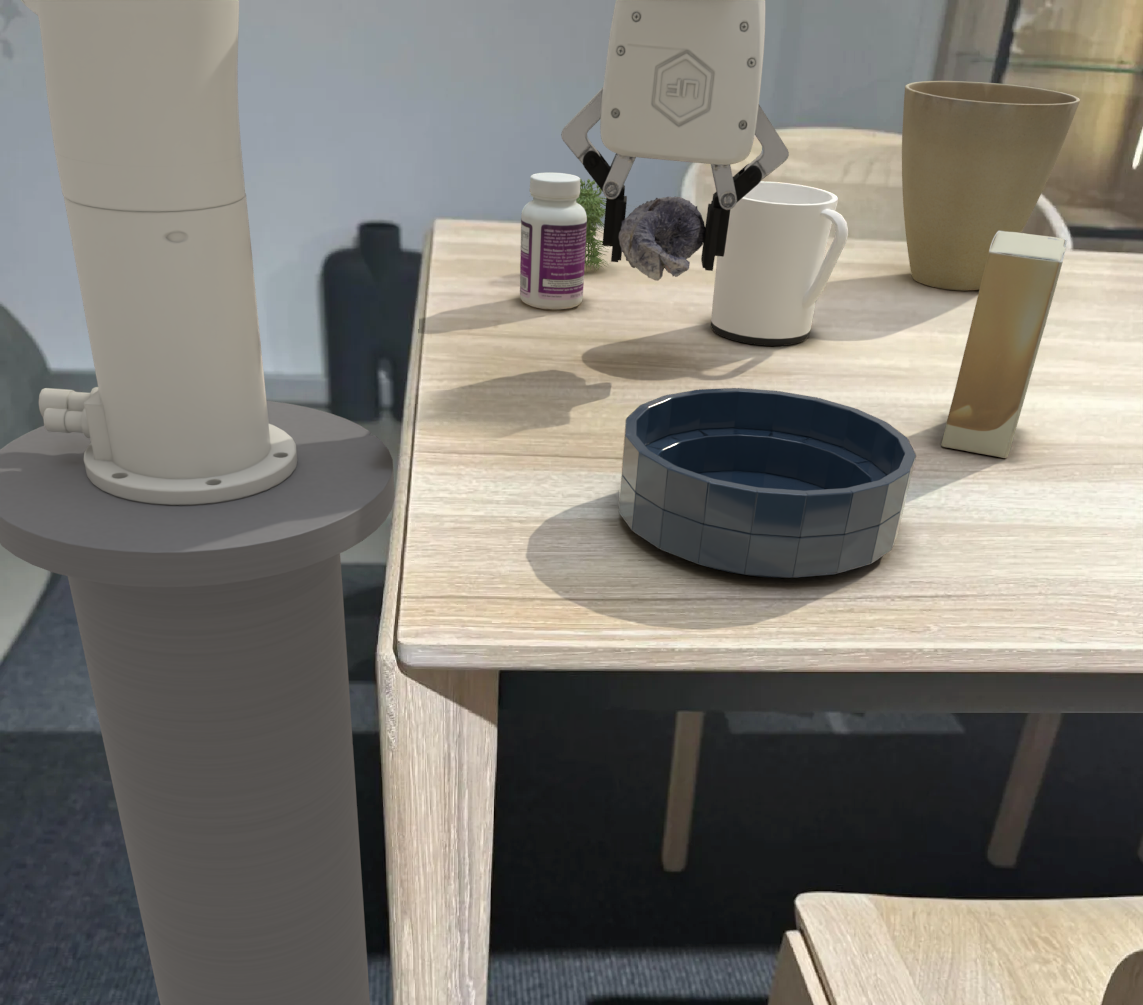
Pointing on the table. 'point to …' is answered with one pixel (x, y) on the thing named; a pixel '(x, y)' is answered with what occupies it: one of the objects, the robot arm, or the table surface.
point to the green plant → (592, 221)
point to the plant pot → (973, 170)
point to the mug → (775, 263)
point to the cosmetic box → (1003, 341)
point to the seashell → (662, 236)
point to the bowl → (764, 481)
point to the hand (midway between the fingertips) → (661, 259)
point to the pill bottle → (553, 243)
